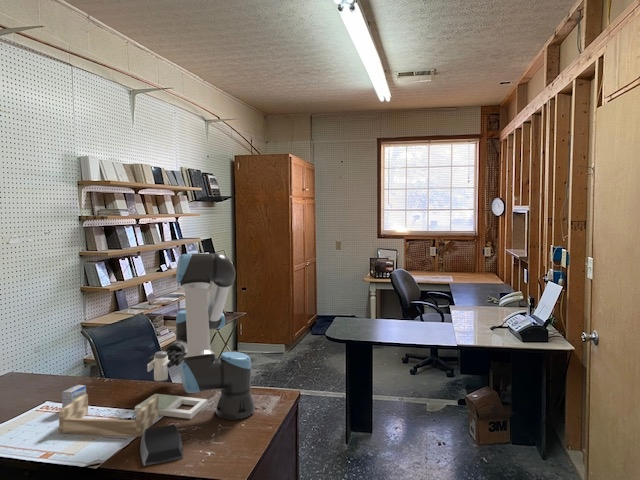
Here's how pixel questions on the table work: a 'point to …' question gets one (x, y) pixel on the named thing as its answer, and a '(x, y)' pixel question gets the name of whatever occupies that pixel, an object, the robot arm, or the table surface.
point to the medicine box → (72, 394)
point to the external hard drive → (161, 445)
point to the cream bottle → (160, 366)
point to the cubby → (105, 420)
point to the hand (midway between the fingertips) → (155, 368)
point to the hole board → (175, 405)
